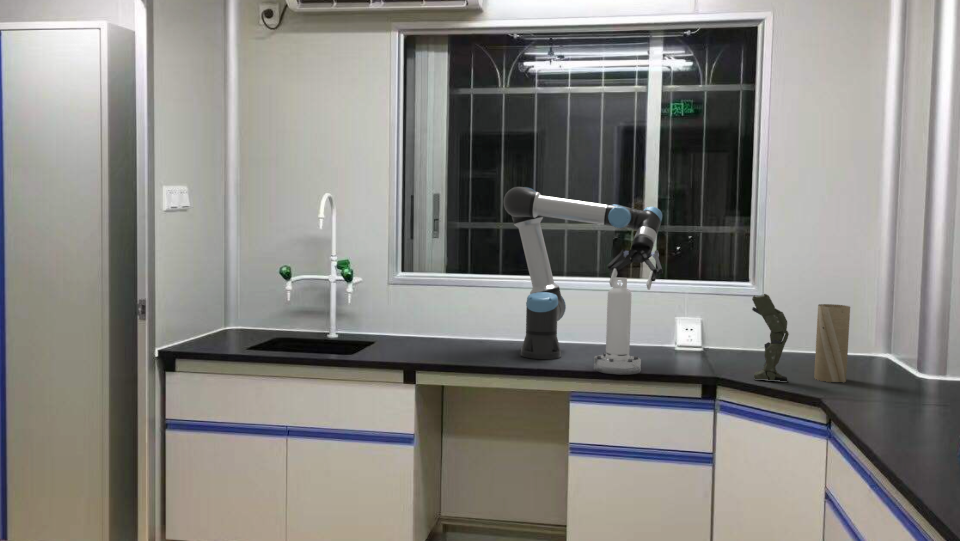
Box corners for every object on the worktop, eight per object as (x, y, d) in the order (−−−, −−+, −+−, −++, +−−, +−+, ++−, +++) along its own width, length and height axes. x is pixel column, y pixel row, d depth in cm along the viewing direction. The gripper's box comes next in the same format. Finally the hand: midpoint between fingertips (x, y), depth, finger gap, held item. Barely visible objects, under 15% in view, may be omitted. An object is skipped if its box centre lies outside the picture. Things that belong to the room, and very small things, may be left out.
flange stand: (598, 374, 282) (598, 360, 282) (590, 365, 298) (590, 351, 298) (645, 374, 283) (645, 360, 283) (634, 365, 299) (635, 352, 299)
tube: (843, 384, 275) (847, 308, 273) (811, 380, 280) (815, 306, 278) (848, 379, 283) (852, 305, 282) (817, 375, 289) (820, 303, 287)
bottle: (631, 357, 292) (634, 277, 290) (625, 361, 285) (628, 279, 283) (609, 355, 296) (611, 276, 294) (602, 359, 289) (605, 278, 286)
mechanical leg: (799, 377, 279) (780, 289, 279) (799, 382, 272) (780, 291, 272) (756, 383, 284) (738, 297, 284) (756, 388, 277) (737, 299, 277)
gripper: (679, 250, 304) (665, 295, 292) (613, 247, 316) (598, 290, 304) (675, 236, 299) (662, 281, 287) (609, 233, 311) (593, 276, 299)
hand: (629, 286), depth 296 cm, fingers open, 13 cm apart
